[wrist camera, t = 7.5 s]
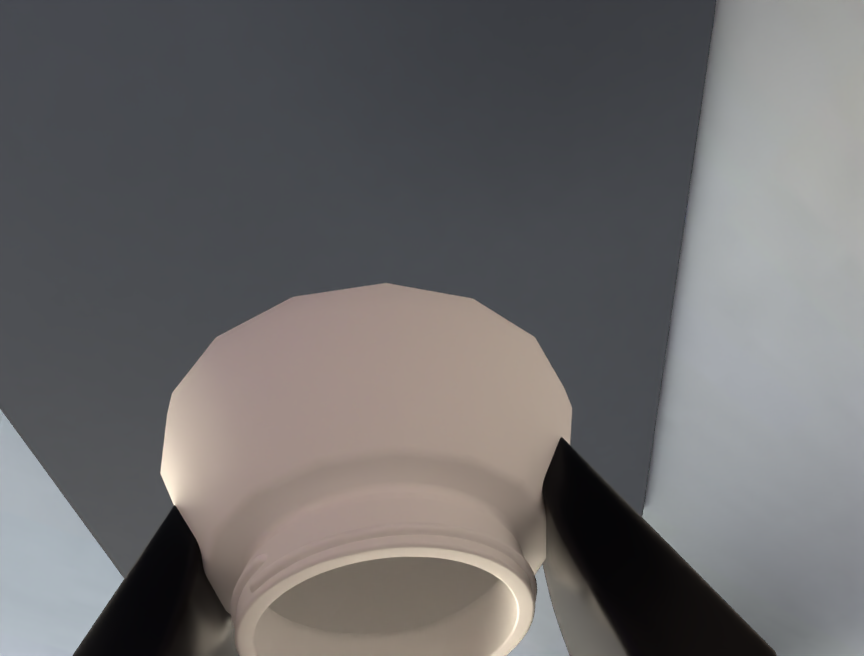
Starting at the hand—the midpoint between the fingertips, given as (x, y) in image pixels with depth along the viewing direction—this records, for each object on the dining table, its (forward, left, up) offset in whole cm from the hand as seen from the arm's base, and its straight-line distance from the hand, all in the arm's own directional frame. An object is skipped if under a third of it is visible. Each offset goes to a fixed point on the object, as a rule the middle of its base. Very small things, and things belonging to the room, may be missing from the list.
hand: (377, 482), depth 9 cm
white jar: (0, 0, -1) cm, 1 cm away
